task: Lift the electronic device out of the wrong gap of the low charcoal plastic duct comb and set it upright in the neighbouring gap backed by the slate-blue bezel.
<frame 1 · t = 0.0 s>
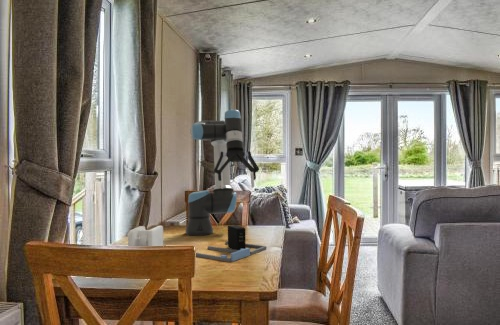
hand: (237, 187, 170), 28 cm above the table, tool tilted 20°, fingers open, 13 cm apart
cable duct: (227, 251, 169), on the table
electronic device: (236, 249, 174), resting in cable duct
cable organizer: (146, 255, 165), on the table
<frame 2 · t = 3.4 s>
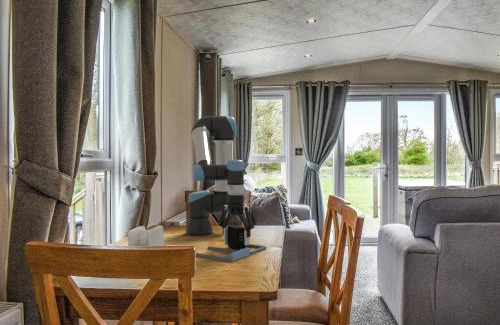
hand: (236, 243, 174), 2 cm above the table, tool pointing down, fingers closed on electronic device, 11 cm apart
electronic device: (236, 249, 174), resting in cable duct, touching gripper
everything else where it was.
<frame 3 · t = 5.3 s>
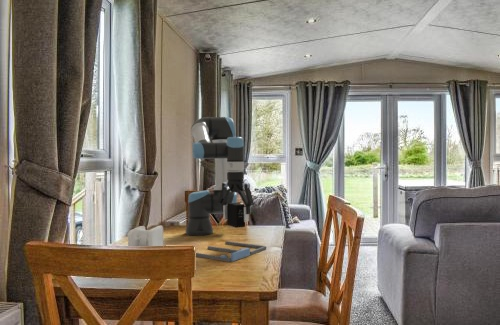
hand: (236, 220, 174), 13 cm above the table, tool pointing down, fingers closed on electronic device, 11 cm apart
electronic device: (236, 226, 174), point 10 cm above the table, touching gripper
everything else where it was.
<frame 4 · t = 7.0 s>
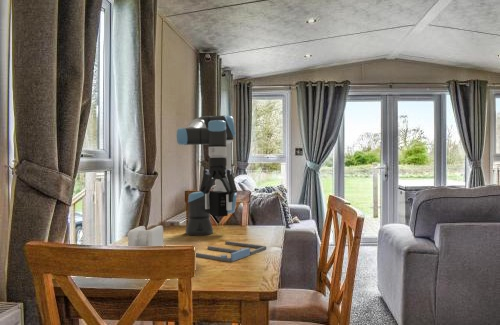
hand: (218, 209, 163), 19 cm above the table, tool pointing down, fingers closed on electronic device, 11 cm apart
electronic device: (218, 215, 163), point 16 cm above the table, touching gripper
everything else where it was.
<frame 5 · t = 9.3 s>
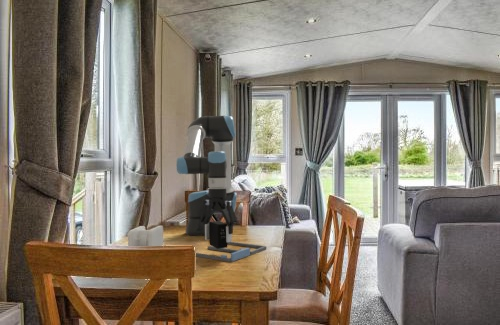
hand: (218, 240, 163), 6 cm above the table, tool pointing down, fingers closed on electronic device, 11 cm apart
electronic device: (218, 246, 163), point 3 cm above the table, touching gripper
everything else where it was.
when the fingers open (4 cm above the table, at t = 10.8 s): electronic device drops 1 cm, resting in cable duct.
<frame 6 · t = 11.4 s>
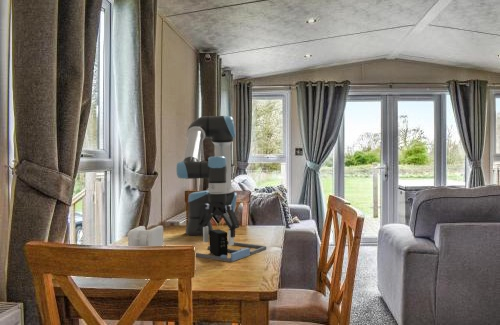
hand: (218, 243, 163), 5 cm above the table, tool pointing down, fingers open, 13 cm apart
electronic device: (218, 255, 163), resting in cable duct
everything else where it was.
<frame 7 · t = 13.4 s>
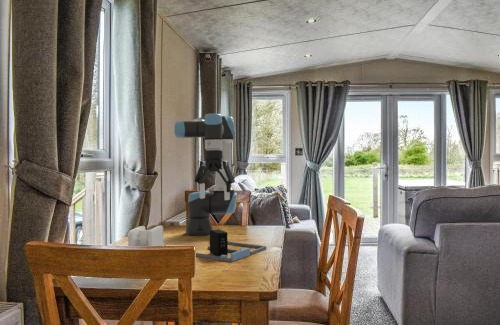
hand: (214, 199, 167), 23 cm above the table, tool pointing down, fingers open, 13 cm apart
nothing on the table moved.
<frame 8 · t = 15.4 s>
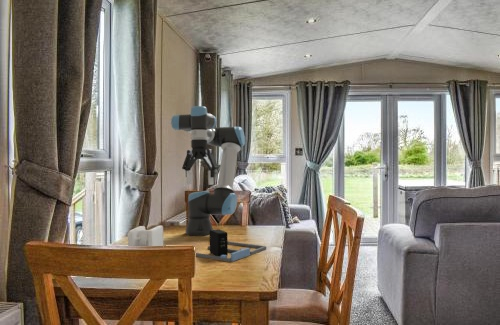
hand: (199, 184, 183), 29 cm above the table, tool pointing down, fingers open, 13 cm apart
nothing on the table moved.
at the end: electronic device inside the target area on the cable duct (0.1 cm from its centre), point 0.0 cm above the cable duct's base; electronic device tilted 0°; the gripper is holding nothing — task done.
